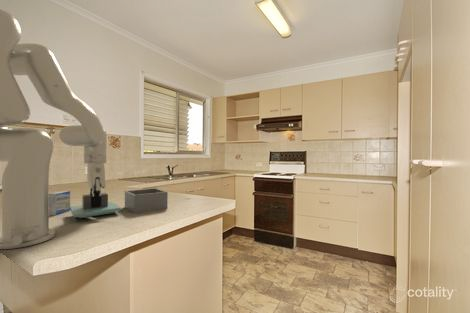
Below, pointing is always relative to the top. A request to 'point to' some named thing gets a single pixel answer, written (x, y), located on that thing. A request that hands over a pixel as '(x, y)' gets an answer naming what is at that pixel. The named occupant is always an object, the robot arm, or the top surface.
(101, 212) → the lid
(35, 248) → the top surface
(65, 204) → the medicine box
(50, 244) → the top surface
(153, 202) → the bin
